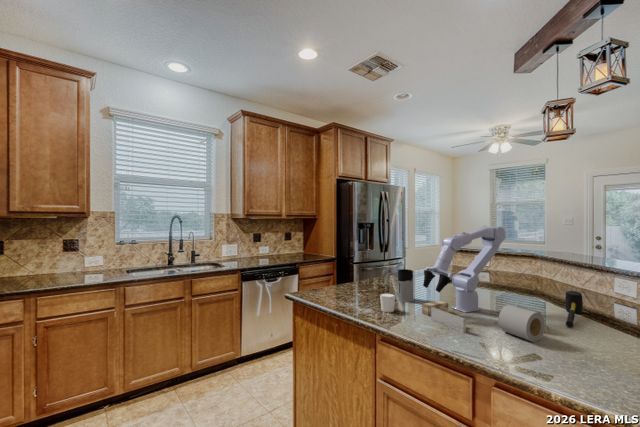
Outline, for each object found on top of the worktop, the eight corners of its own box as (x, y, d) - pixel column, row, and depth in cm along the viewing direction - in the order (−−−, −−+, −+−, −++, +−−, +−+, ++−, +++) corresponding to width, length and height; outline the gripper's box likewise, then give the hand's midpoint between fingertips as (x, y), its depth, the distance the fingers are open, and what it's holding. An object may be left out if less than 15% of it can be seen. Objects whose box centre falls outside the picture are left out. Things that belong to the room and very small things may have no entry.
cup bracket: (473, 330, 116) (473, 317, 116) (463, 332, 114) (463, 319, 114) (440, 317, 131) (440, 306, 131) (431, 319, 129) (431, 307, 129)
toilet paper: (498, 333, 114) (498, 306, 114) (516, 329, 118) (516, 303, 118) (526, 344, 104) (526, 314, 104) (544, 339, 108) (544, 311, 108)
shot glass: (395, 313, 137) (395, 297, 137) (380, 312, 139) (379, 296, 139) (395, 308, 144) (395, 293, 144) (380, 307, 145) (380, 292, 146)
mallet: (579, 330, 117) (579, 305, 117) (560, 327, 121) (559, 302, 121) (583, 312, 138) (583, 291, 138) (566, 310, 142) (565, 289, 142)
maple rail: (442, 310, 142) (442, 300, 142) (448, 312, 138) (448, 302, 138) (422, 314, 137) (422, 303, 137) (427, 316, 134) (427, 305, 134)
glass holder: (416, 301, 155) (416, 272, 155) (388, 301, 155) (388, 272, 155) (411, 297, 164) (411, 269, 164) (384, 297, 164) (384, 269, 164)
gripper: (426, 255, 144) (413, 281, 141) (450, 260, 130) (437, 289, 128) (435, 261, 146) (423, 287, 144) (460, 268, 133) (448, 296, 131)
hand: (431, 289), depth 136 cm, fingers open, 7 cm apart
